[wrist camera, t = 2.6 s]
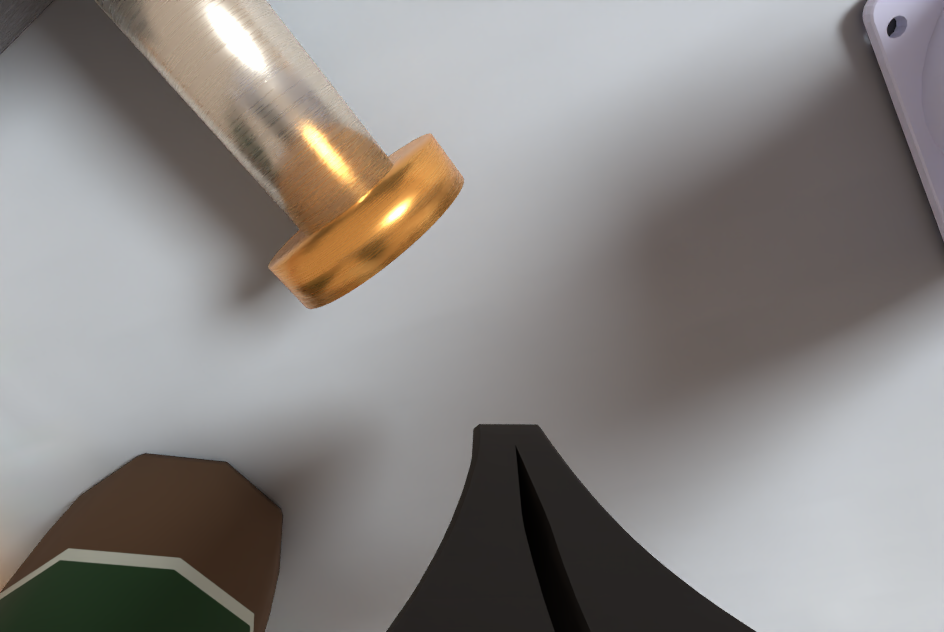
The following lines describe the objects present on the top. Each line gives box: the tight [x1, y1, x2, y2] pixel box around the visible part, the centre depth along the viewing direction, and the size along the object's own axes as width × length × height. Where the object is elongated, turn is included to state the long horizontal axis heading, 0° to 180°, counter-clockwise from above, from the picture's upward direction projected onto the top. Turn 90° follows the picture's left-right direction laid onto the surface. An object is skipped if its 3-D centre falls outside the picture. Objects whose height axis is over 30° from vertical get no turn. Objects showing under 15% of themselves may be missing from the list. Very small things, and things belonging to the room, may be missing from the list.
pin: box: [94, 0, 464, 309], centre depth 12 cm, size 10×5×5 cm, turn 36°
